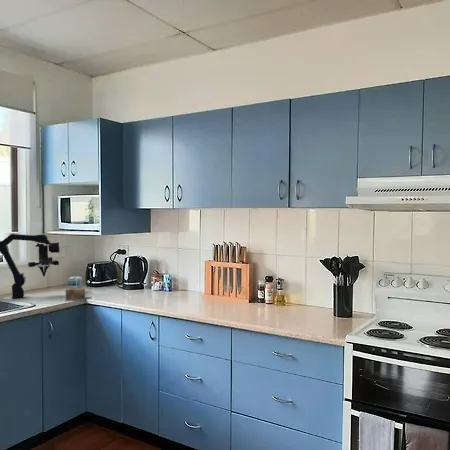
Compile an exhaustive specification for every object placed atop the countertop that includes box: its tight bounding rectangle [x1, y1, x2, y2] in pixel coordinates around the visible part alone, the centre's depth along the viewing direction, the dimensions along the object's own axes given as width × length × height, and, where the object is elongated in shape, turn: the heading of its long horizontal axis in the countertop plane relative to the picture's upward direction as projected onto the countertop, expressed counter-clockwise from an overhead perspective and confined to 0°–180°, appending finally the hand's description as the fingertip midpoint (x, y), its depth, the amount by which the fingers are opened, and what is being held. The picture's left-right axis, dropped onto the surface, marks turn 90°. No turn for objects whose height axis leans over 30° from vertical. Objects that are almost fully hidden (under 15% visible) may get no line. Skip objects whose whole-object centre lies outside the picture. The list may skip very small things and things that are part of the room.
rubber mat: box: [65, 296, 92, 302], centre depth 292 cm, size 12×12×1 cm
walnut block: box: [65, 287, 86, 300], centre depth 292 cm, size 6×6×10 cm
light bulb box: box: [67, 276, 83, 289], centre depth 314 cm, size 11×7×11 cm, turn 179°
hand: (43, 276), depth 304 cm, fingers closed
